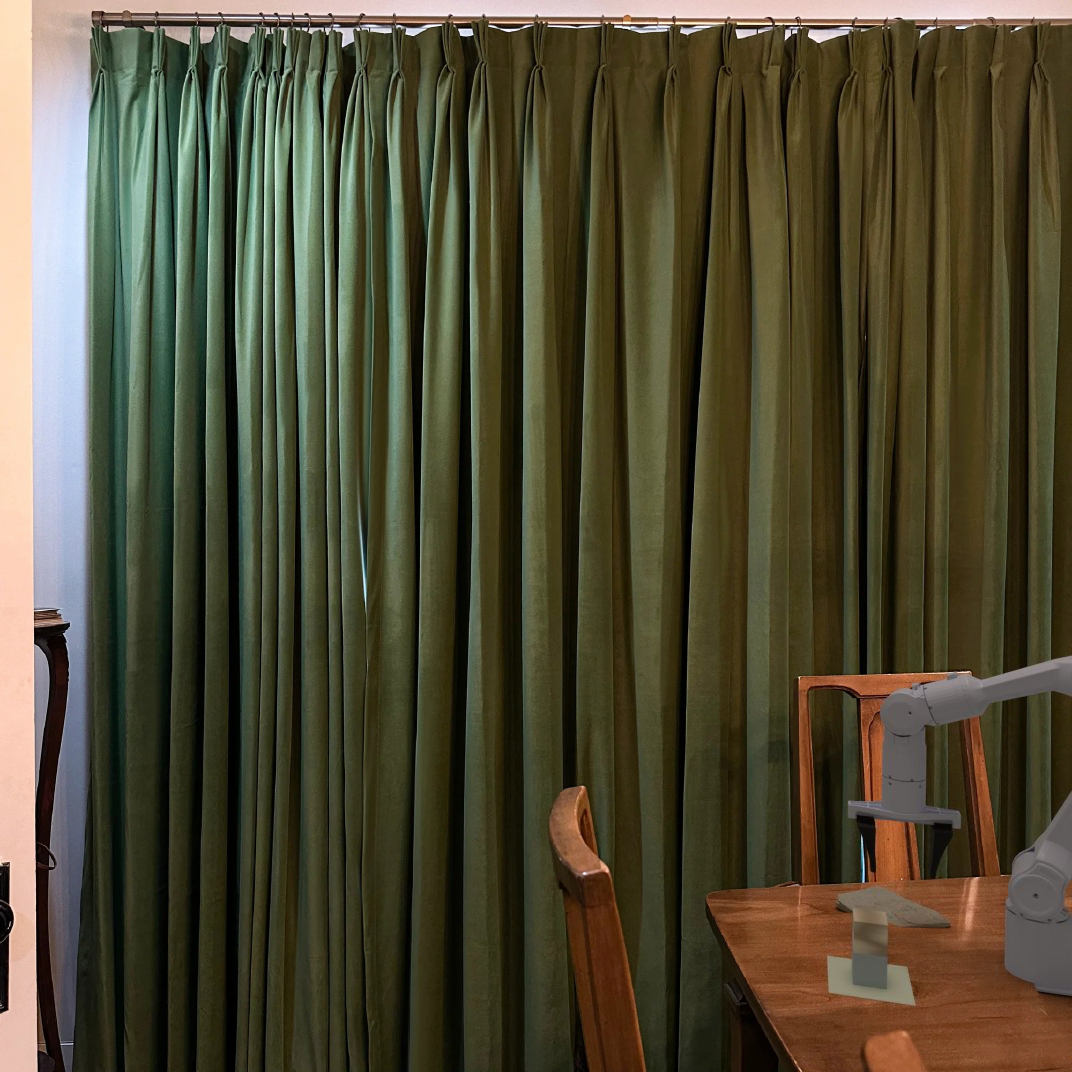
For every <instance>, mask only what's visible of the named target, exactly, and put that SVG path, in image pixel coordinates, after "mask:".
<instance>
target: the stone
mask: <svg viewBox="0 0 1072 1072" xmlns="http://www.w3.org/2000/svg"><path fill="white" fill-rule="evenodd" d="M835 904H836V905H835V907H836V908H837V909H839V910H840V911H841V912H845V913H846V914H852V915H853V908H856V909H864V910H871V911H879V912H886V917H887V922H888V924H891V925H894V926H896V927H898V928H932V929H934V928H935V929H937V928H938V929H939V928H940V929H942V928H943V929H944V928H947V927H950V926H951V925H952V921H951V920H950V919H948V918H947V917H945V915H943V914H941V913H939V912H938V911H936V910H933V909H932V908H929V907H928V906H927V907H925V906H923V904H922V905H921V904H919V903H916V902H914V901H912V900H910V899H906V898H905V897H903V896H902V895H900V894H898V893H897V892H895V891H894V890H893V891H892V890H890V889H887V888H885V887H883V886H881V885H877V886H870V887H867V888H865V889H859V890H858V889H857V890H854V891H848V892H843V893H837V898H836V901H835Z"/></svg>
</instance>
